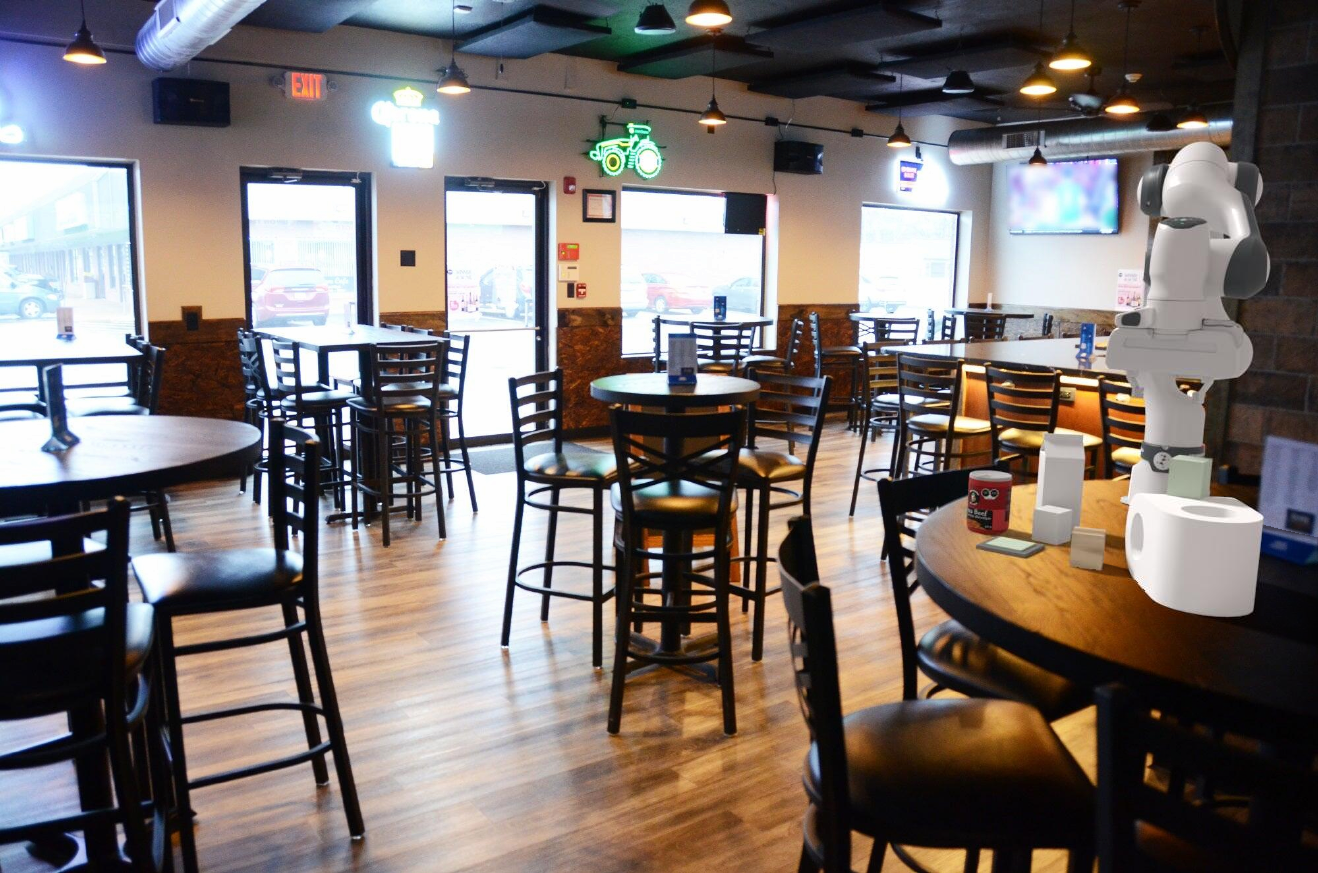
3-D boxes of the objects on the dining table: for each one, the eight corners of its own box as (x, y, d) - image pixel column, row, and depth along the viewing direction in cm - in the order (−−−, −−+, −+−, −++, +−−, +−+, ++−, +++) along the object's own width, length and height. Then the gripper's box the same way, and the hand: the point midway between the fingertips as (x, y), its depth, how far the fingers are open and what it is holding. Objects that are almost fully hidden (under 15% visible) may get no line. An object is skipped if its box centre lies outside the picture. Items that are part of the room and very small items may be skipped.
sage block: (1175, 490, 174) (1179, 454, 173) (1208, 495, 170) (1212, 458, 169) (1166, 494, 170) (1170, 458, 169) (1200, 499, 167) (1203, 462, 166)
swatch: (997, 539, 196) (997, 534, 196) (1044, 548, 190) (1044, 543, 190) (976, 548, 189) (976, 543, 189) (1024, 557, 184) (1024, 553, 183)
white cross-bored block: (1268, 620, 153) (1211, 571, 177) (1279, 525, 150) (1220, 489, 175) (1164, 613, 155) (1122, 566, 180) (1173, 520, 153) (1129, 485, 177)
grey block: (1045, 535, 199) (1047, 505, 198) (1070, 541, 196) (1072, 509, 195) (1031, 539, 196) (1033, 508, 195) (1056, 545, 192) (1058, 513, 191)
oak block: (1072, 559, 183) (1074, 526, 182) (1103, 563, 181) (1105, 529, 180) (1069, 566, 179) (1072, 532, 178) (1100, 570, 177) (1103, 536, 176)
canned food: (957, 526, 205) (961, 471, 203) (990, 523, 208) (993, 469, 206) (984, 536, 198) (987, 479, 196) (1017, 532, 201) (1021, 476, 199)
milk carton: (1079, 536, 199) (1086, 437, 196) (1039, 533, 200) (1047, 436, 197) (1072, 527, 206) (1079, 432, 203) (1034, 524, 207) (1041, 430, 204)
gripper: (1249, 319, 168) (1240, 404, 171) (1117, 313, 181) (1111, 392, 184) (1240, 321, 163) (1231, 408, 166) (1105, 315, 177) (1098, 396, 179)
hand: (1167, 400), depth 175 cm, fingers open, 8 cm apart
